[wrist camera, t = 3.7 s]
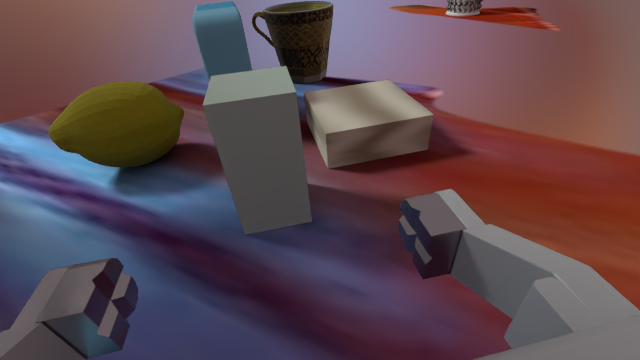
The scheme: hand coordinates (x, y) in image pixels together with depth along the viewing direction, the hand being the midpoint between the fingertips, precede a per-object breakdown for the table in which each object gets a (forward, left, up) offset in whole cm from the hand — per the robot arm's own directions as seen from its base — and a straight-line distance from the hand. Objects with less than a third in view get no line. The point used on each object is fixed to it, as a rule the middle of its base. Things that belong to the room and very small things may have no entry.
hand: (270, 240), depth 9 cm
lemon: (-13, +23, -10) cm, 28 cm away
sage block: (0, +12, -9) cm, 15 cm away
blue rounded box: (-3, +32, -10) cm, 34 cm away
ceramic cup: (+6, +43, -10) cm, 45 cm away
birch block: (+10, +21, -10) cm, 25 cm away
